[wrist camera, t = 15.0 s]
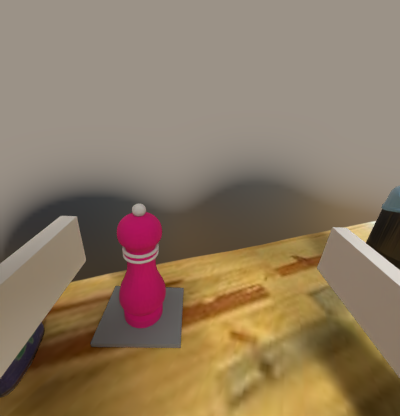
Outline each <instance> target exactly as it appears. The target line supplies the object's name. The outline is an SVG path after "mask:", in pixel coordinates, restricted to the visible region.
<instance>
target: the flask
mask: <svg viewBox="0 0 400 416" xmlns="http://www.w3.org/2000/svg"><path fill="white" fill-rule="evenodd" d="M43 335H44V327H43V324H42V322H41V323H40V325H39V326H38V327H37V329H36V330H35V331H34V333H33V334H32V336H31V337H30V338H29V340H28V341H27V342H26V344H25V345H24V347H23V348H22V349H21V351H20V352H19V353H18V355H17V356H16V358H15V359H14V360H13V362H12V363H11V364H10V366H9V367H8V369H7V370H6V371H5V373H4V374H3V375H2V377H1V378H0V397H4V396H5V395H8V394H9V393H10V392H11V391H12V390H13V389H14V388H15V387H16V386H17V385H18V383H19V382H20V381H21V379H22V377H23V376H24V374H25V373H26V372H27V369H28V368H29V367H30V365H31V363H32V360H33V359H34V357H35V354H36V352H37V350H38V347H39V345H40V342H41V341H42V337H43Z"/></svg>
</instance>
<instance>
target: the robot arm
mask: <svg viewBox="0 0 400 416" xmlns="http://www.w3.org/2000/svg"><path fill="white" fill-rule="evenodd" d="M85 261H86V257H85V253H84V248H83V244H82V239H81V235H80V230H79V225H78V221H77V217H76V216H60V217H59V218H58V219H56V220H55V221H54V222H53V223H51V224H50V225H49V226H47V227H46V228H45V229H44V230H43V231H41V232H40V233H39V234H37V235H36V236H35V237H34V238H32V239H31V240H30V241H28V242H27V243H26V244H25V245H23V246H22V247H21V248H20V249H18V250H17V251H16V252H15V253H13V254H12V255H11V256H10V257H8V258H7V259H6V260H5V261H3V262H2V263H1V264H0V378H1V377H2V375H3V374H4V373H5V371H6V370H7V369H8V367H9V366H10V364H11V363H12V362H13V360H14V359H15V358H16V356H17V355H18V353H19V352H20V351H21V349H22V348H23V347H24V345H25V344H26V342H27V341H28V340H29V338H30V337H31V336H32V334H33V333H34V331H35V330H36V329H37V327H38V326H39V325H40V323H41V322H42V320H43V319H44V318H45V316H46V315H47V314H48V312H49V311H50V309H51V308H52V307H53V305H54V304H55V303H56V301H57V300H58V299H59V297H60V296H61V294H62V293H63V292H64V290H65V289H66V288H67V286H68V285H69V283H70V282H71V281H72V279H73V278H74V276H75V275H76V274H77V272H78V271H79V270H80V268H81V267H82V265H83V264H84V263H85ZM317 269H318V270H319V272H320V273H321V274H322V276H323V277H324V278H325V280H326V281H327V282H328V284H329V285H330V286H331V288H332V289H333V290H334V292H335V293H336V294H337V296H338V297H339V298H340V300H341V301H342V302H343V304H344V305H345V306H346V308H347V309H348V310H349V312H350V313H351V314H352V316H353V317H354V318H355V320H356V321H357V322H358V324H359V325H360V326H361V328H362V329H363V330H364V332H365V333H366V334H367V336H368V337H369V338H370V340H371V341H372V342H373V343H374V345H375V346H376V347H377V349H378V350H379V351H380V353H381V354H382V355H383V357H384V358H385V359H386V361H387V362H388V363H389V365H390V366H391V367H392V369H393V370H394V371H395V373H396V374H397V375H398V377H399V378H400V186H398V187H396V188H394V189H393V190H392V191H391V193H390V194H389V196H388V198H387V200H386V202H385V203H384V204H383V205H382V211H381V213H380V215H379V217H378V219H377V221H376V223H375V225H374V227H373V229H372V231H371V233H370V235H369V237H368V239H367V242H366V243H365V242H364V241H362V240H361V239H360V238H359V237H357V236H356V235H355V234H354V233H352V232H351V231H350V230H349V229H347V228H336V227H335V228H334V227H333V228H332V230H331V232H330V235H329V238H328V240H327V243H326V246H325V248H324V251H323V254H322V256H321V259H320V262H319V264H318V267H317Z"/></svg>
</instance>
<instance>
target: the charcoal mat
mask: <svg viewBox="0 0 400 416" xmlns="http://www.w3.org/2000/svg"><path fill="white" fill-rule="evenodd" d="M120 287H121V286H116V287H115V289H114V291H113V293H112V296H111V298H110V300H109V302H108V305H107V307H106V309H105V312H104V314H103V316H102V318H101V321H100V323H99V325H98V327H97V330H96V332H95V334H94V337H93V339H92V341H91V343H90V344H91V347H145V348H180V347H181V327H182V308H183V288H168V287H165V288H166V295H165V299H164V301H163V312H162V315H161V317H160V319H159V320H158V321H157V322H156V323H155V324H153V325H151V326H149V327H147V328H135V327H132V326H130V325H129V324H128V323H127V322H126V320H125V315H124V309H123V307H122V306H121V304H120V301H119V292H120Z"/></svg>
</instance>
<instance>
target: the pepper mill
mask: <svg viewBox="0 0 400 416" xmlns="http://www.w3.org/2000/svg"><path fill="white" fill-rule="evenodd" d="M161 236H162V228H161V224H160V222H159V220H158V219H157V218H156V217H155V216H154V215H152V214H150V213H147V212H146V208H145V206H144V205H143V204H135V205H134V206H133V208H132V213H131V214H128V215H127V216H125V217H124V218H123V219H122V220H121V221H120V222H119V225H118V228H117V238H118V241H119V242H120V244H121V245H122V246H123V247H122V251H123V257H124V259H125V260H126V261H127V272H126V274H125V277H124V279H123V281H122V283H121V287H120V292H119V301H120V304H121V306H122V307H123V309H124V315H125V320H126V322H127V323H128V324H129V325H130V326H132V327H135V328H147V327H149V326H151V325H153V324H155V323H156V322H157V321H158V320H159V319H160V317H161V315H162V312H163V301H164V299H165V295H166V288H165V283H164V280H163V278H162V277H161V275H160V274H159V272H158V270H157V267H156V262H155V258H156V257H157V255H158V253H159V250H158V248H159V245H158V242H159V241H160V239H161Z"/></svg>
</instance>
